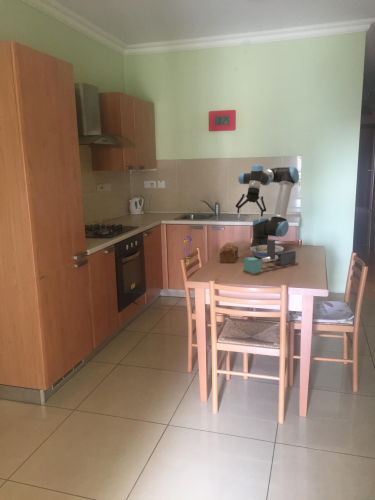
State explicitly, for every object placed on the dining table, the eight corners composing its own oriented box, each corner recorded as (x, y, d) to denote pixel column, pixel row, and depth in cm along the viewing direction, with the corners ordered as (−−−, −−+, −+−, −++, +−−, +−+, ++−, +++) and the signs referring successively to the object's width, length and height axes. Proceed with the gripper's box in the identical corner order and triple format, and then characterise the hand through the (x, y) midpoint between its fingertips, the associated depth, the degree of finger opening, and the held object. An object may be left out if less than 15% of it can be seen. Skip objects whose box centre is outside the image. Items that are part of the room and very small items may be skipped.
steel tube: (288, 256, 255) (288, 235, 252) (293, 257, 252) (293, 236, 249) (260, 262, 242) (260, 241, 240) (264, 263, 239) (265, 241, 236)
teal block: (250, 268, 242) (250, 256, 241) (261, 271, 235) (261, 259, 233) (243, 270, 239) (243, 258, 238) (253, 273, 232) (253, 261, 230)
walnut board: (287, 261, 259) (287, 260, 259) (297, 264, 251) (297, 263, 251) (243, 271, 239) (243, 270, 239) (253, 275, 232) (253, 273, 232)
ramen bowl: (284, 263, 256) (284, 251, 254) (249, 263, 260) (249, 251, 259) (283, 254, 280) (283, 243, 278) (250, 254, 284) (250, 243, 282)
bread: (234, 263, 261) (234, 248, 259) (219, 263, 264) (218, 248, 262) (238, 257, 279) (238, 243, 277) (223, 256, 282) (223, 243, 279)
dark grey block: (288, 261, 257) (288, 249, 256) (295, 262, 252) (295, 251, 251) (273, 264, 250) (274, 252, 249) (280, 266, 245) (281, 254, 244)
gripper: (234, 184, 259) (229, 216, 258) (273, 189, 253) (267, 221, 252) (235, 187, 266) (230, 218, 265) (273, 192, 261) (268, 223, 260)
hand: (248, 219), depth 259 cm, fingers open, 13 cm apart
